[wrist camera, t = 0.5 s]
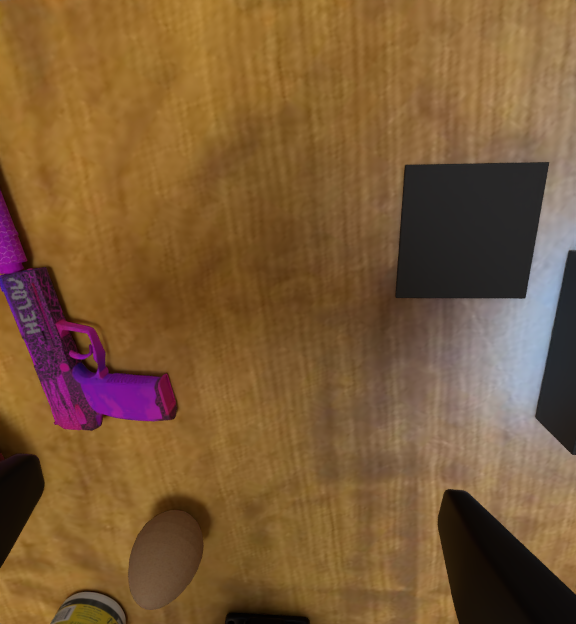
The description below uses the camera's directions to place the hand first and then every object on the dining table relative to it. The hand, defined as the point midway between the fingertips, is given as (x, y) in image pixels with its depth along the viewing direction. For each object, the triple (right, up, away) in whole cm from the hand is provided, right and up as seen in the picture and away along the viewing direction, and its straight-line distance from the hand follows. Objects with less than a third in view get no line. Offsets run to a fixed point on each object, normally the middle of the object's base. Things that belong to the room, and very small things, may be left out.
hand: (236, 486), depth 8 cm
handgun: (-4, +4, +14) cm, 15 cm away
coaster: (+11, +8, +12) cm, 18 cm away
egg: (-7, -11, +19) cm, 23 cm away
